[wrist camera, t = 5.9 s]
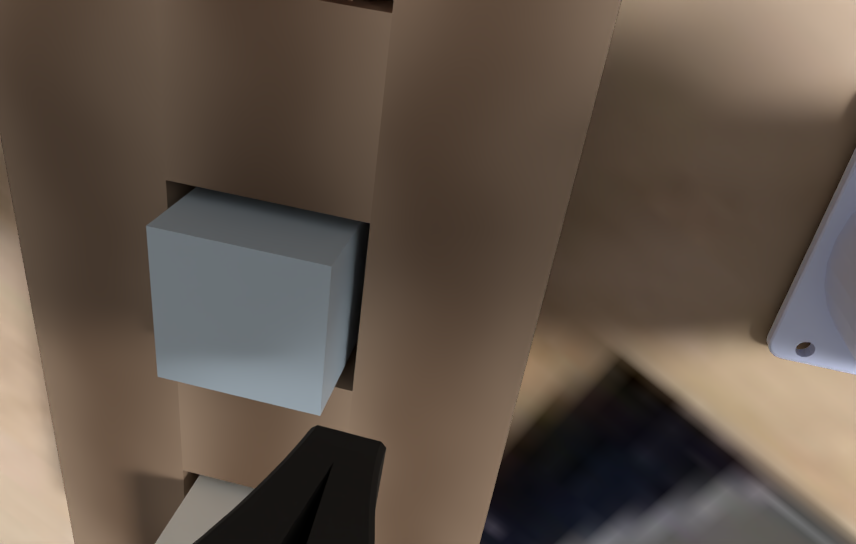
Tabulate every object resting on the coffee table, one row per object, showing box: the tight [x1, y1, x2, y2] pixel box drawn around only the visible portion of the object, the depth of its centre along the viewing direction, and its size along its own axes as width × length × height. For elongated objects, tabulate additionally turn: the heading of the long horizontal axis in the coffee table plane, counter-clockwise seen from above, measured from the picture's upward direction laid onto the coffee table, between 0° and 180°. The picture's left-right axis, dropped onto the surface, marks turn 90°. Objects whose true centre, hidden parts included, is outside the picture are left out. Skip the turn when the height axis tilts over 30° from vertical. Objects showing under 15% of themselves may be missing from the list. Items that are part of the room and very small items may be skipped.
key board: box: [0, 0, 622, 544], centre depth 20 cm, size 14×31×4 cm, turn 172°
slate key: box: [146, 187, 370, 416], centre depth 18 cm, size 4×4×4 cm
